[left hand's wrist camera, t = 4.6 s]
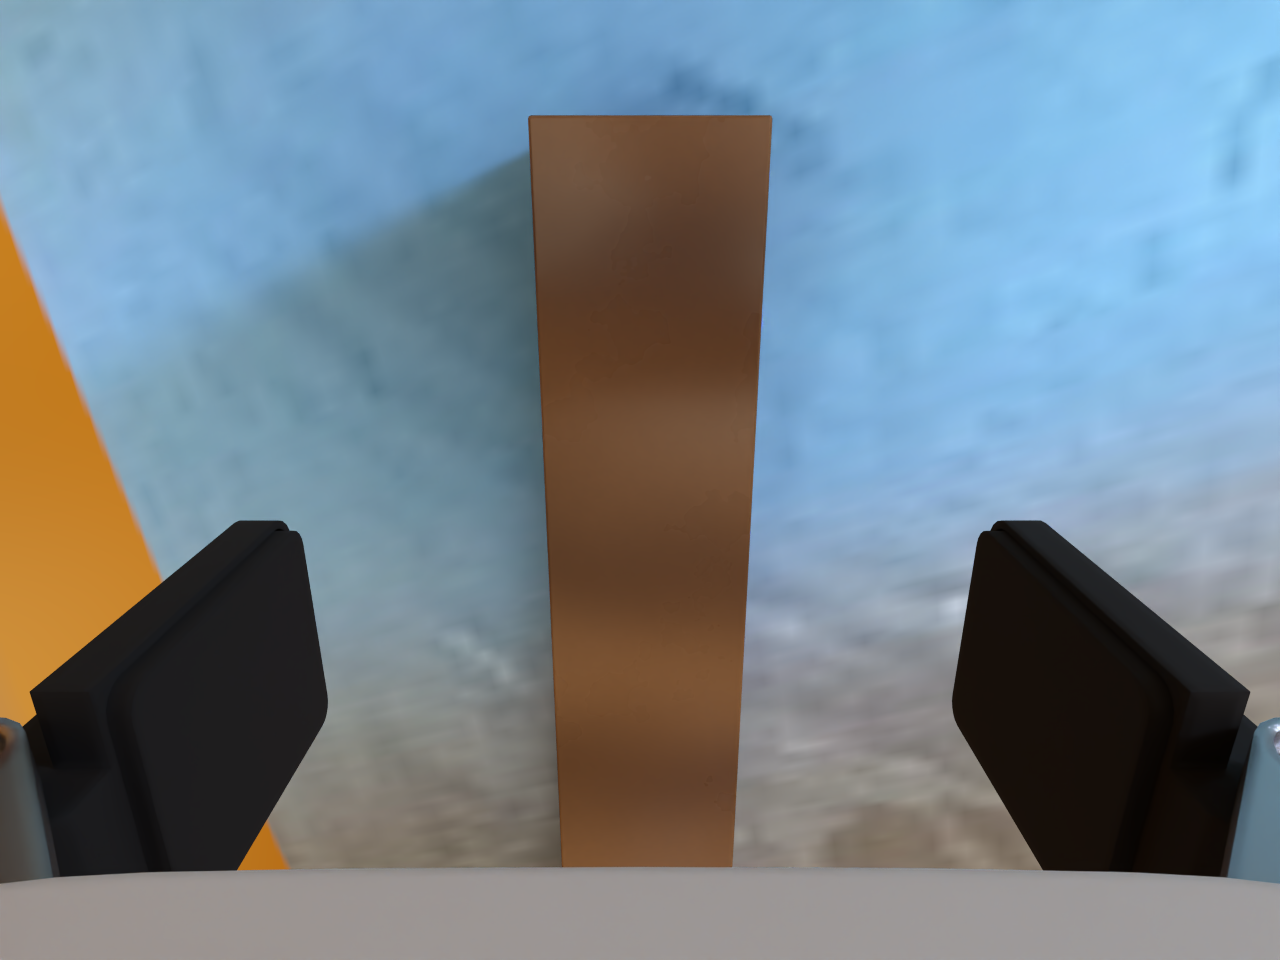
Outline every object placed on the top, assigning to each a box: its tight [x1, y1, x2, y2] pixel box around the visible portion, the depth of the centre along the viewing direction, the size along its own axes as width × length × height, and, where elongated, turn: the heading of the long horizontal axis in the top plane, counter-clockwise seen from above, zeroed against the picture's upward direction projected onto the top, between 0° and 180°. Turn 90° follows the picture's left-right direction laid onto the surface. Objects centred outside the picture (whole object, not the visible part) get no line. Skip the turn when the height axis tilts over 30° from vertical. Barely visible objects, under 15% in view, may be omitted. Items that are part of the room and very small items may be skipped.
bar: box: [528, 115, 772, 867], centre depth 28 cm, size 50×5×6 cm, turn 0°
